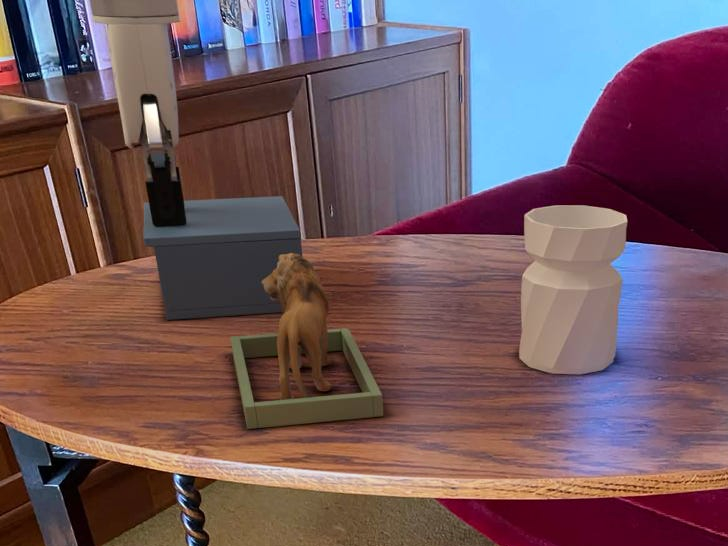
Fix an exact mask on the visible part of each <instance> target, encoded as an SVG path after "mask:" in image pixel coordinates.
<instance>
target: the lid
mask: <svg viewBox="0 0 728 546" xmlns="http://www.w3.org/2000/svg"><path fill="white" fill-rule="evenodd" d="M169 169H170V168H169ZM170 173H171V172H170ZM171 180H172V179H171ZM184 206H185V207H184V208H185V215H186V224H185V225H184V226H165V227H156V226H154V225H153V223H152V218H151V212H150V206H149V201H148V202H144V203H143V244H144V245H143V246H144V247H145V248H151V247H153V248H154V246H172V245H190V244H208V243H226V242H244V241H261V240H279V239H297V238H300V239H302V236H301V229H300V227H299V225H298V224H297V222H296V220H295V218H294V216H293V214H292V212H291V210H290V208H289V206H288V204H287V202H286V200H285V198H284V196H283V195H282V196H281V195H280V196H278V195H277V196H259V197H258V196H256V197H255V196H253V197H237V198H235V197H234V198H215V199H214V198H213V199H211V198H210V199H193V200H191V199H190V200H189V199H188V200H184Z"/></svg>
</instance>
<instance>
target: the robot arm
mask: <svg viewBox="0 0 728 546" xmlns="http://www.w3.org/2000/svg"><path fill="white" fill-rule="evenodd" d="M89 6H90V11H91V16H92V21H93V23H97V24H104V25H106V33H107V41H108V50H109V56H110V63H111V69H112V70H111V71H112V75H113V81H114V86H115V91H116V97H117V103H118V109H119V115H120V120H121V125H122V131H123V138H124V144H125V146H126V147H127V148H129V149H131V150H132V149H133V150H134V147H135V144H139V141H140V144H141V151H142V157H143V162H144V168H145V175H146V180H145V182H144V183H145V189H146V194H147V200H148V202H149V206H150V212H151V218H152V223H153V225H154V226H156V227H165V226H184V225H185V224H186V215H185V208H184V207H185V206H184V201H185V200H184V194H183V188H182V181H181V174H180V167H179V166H177V165H176V158H175V152H174V148H176V147H177V146H178V145H179V143H180V142H179V138H180V137H179V109H178V98H177V88H176V80H175V73H174V65H173V58H172V52H171V51H172V50H171V44H170V38H169V30H168V24H176V23H180V22H181V19H180V18H181V17H180V11H179V6H178V0H89ZM169 168H170V169H169ZM170 172H171V173H170ZM171 179H172V180H171Z"/></svg>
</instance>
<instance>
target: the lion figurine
mask: <svg viewBox="0 0 728 546" xmlns="http://www.w3.org/2000/svg"><path fill="white" fill-rule="evenodd" d="M302 256H303V255H302ZM302 256H300V255H299V254H294V253H289V254H283V255H280V256H279V262H278V263H277V265H278V266H277V268H276V269H275V270H273V272H272V274H270V275H269V276H268V277H266V278H265V279H264V280H262V284H263V285H264V289H265V291H266V292H267V293H269V294H270V297H271V299H272V300H273V301H275V300H279V302H280V304H281V307H282V312H281V313H282V315H281V317H280V319H279V322H278V330H277V333H278V338H277V350H278V356H277V357H278V359H277V360H278V361H277V362H278V367H279V368H278V369H279V378H278V382H279V385H280V392H281V393H280V396H279V400H287V399H295V397H294V394H293V393H292V390H291V379H290V370H292V376H293V378H294V381H295V383H296V386H297V388H298V391H299V392H300V394H301V396H302V398H310V397H313V395H312V394H311V393H310V392H309V391H308V389H307V387H306V386H305V384H304V382H303V378H302V376H301V375H302V374H301V368H302V366H303V362H304V360H303V356H302V354H301V353H300V349H299V347H300V348H301V349H302V350H303V352H304V355H305V356H306V358H307V360H308V362H309V364H310V366H311V370H312V371H311V379H312V380H313V382H314V384H315V388H316V389H317V391H320V392H329V391H330V390H331V389H332V384H331V383H330V382H329V381H328V380H324V377H323V373H322V367H327V366H330V365H331V364H332V360H331V359H330V358H328V352H327V346H328V343H327V340H328V326H327V318H328V314H329V300H328V297H327V296H328V294H327V291H326V289H325V288H324V287H323V283H322V281H321V277H320V276H319V274H318V273H317V271H315V269H314V265H313V264H312V263H311V262H310V261H309V260H308V259H306V258H304V257H302Z"/></svg>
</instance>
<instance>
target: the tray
mask: <svg viewBox="0 0 728 546" xmlns="http://www.w3.org/2000/svg"><path fill="white" fill-rule="evenodd" d="M327 330H328V340H327V343H328V346H327V353H328V352H340V351H342V352H343V354H344V356H345V358H346V361H347V363H348V365H349V367H350V369H351V372H352V373H353V375H354V378H355V379H356V382H357V384H358V386H359V388H360V391H361V392H355V393H345V394H344V393H343V394H333V395H323V396H312V397H310V398H303V397H300V398H294V399H287V400H280V399H277V400H266V401H257V402H256V401H255V400H254V395H253V390H252V387H251V382H250V377H249V374H248V373H249V372H248V369H247V365H246V361H245V359H249V358H250V359H251V358H264V357H265V358H266V357H278V350H277V338H278V332H276V333H261V334H250V335H249V334H247V335H235V336H230V337H229V340H230V345H231V352H232V358H233V363H234V369H235V374H236V379H237V384H238V389H239V394H240V400H241V404H242V409H243V414H244V420H245V425H246V429H247V430H252V429H253V430H254V429H262V428H263V429H264V428H272V427H273V428H275V427H284V426H294V425H305V424H314V423H324V422H337V421H347V420H358V419H367V418H378V417H384V399H383V398H384V397H383V396H384V395H383V393H382V391H381V390H380V389H381V388H380V387H379V386H378V384H377V382H376V379H375V377H374V375H373V374H372V371H371V370H370V367H369V366H368V364H367V362H366V359H365V358H364V356H363V353H362V352H361V349H360V348H359V346H358V344H357V342H356V340H355V338H354V336H353V334H352V333H351V331H350V328H349V327H344V328H331V329H329V328H327ZM299 349H300V353H301V355H302V354H304V355H305V353H304V352H303V350H302V349H301V348H300V347H299Z"/></svg>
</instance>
